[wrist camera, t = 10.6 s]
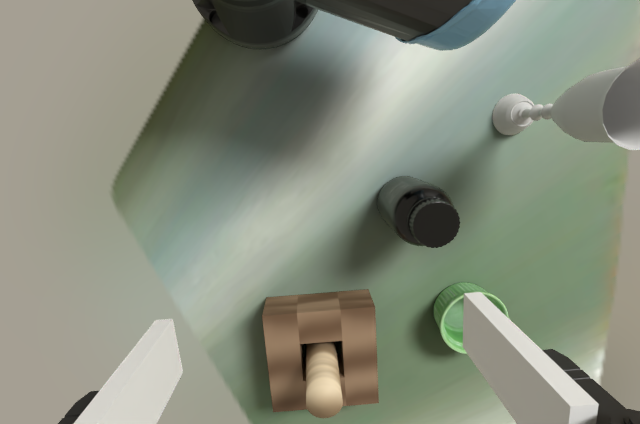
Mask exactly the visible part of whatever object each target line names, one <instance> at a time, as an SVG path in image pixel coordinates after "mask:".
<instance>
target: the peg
mask: <svg viewBox="0 0 640 424" xmlns="http://www.w3.org/2000/svg"><path fill="white" fill-rule="evenodd" d="M342 405H343V399H342V391H341V383H340V375H339V367H338V360H337V352H336V344H335V341H332V342H320V343H308V344H307V351H306V406H307V409H308V411H309V412H310V413H311V414H312V415H314V416H316V417H319V418H329V417H332V416H334V415H336V414H337V413H338V412H339V411H340V410H341V408H342Z"/></svg>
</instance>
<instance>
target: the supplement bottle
mask: <svg viewBox="0 0 640 424" xmlns="http://www.w3.org/2000/svg"><path fill="white" fill-rule="evenodd" d="M377 205H378V210H379V213H380V215H381V217H382V218H383V219H384V221H385V222H386V223H387V224H388V225H389V226H390V227H391V228H392V229H393V230H394V231H395V232H396V234H397V235H398V236H399V237H400V238H402V239H403V240H404V241H406V242H407V243H409V244H412V245H416V246H427V247H431V248H434V247H435V248H437V247H442V246H443V245H446V244H447V243H450V242H451V240H453V239H454V237H455V236H456V234H457V232H458V229H459V227H460V226H459V224H460V221H459V219H460V218H459V216H458V213H457V212H456V209H454V206H453V203H452V201H451V199H450V197H449V196H448V195H447V194H446V193H445V192H444V191H443V190H441V189H440V188H438V187H436V186H433V185H431V184H429V183H426V182H424V181H421V180H419V179H416V178H414V177H410V176H400V177H396V178H394V179H392V180H390V181H389V182H387V183H386V184H385V185H384V186H383V188H382V189H381V191H380V193H379V196H378V202H377Z"/></svg>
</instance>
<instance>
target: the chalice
mask: <svg viewBox="0 0 640 424" xmlns="http://www.w3.org/2000/svg"><path fill="white" fill-rule="evenodd" d="M542 117H543V118H544V119H551V118H552V119H553V121H554V122H555V123H556V124H557V125H558V126H559V127H560V128H561V129H562V130H563V131H564V132H565V133H567V134H569V135H570V136H572V137H574V138H576V139H579V140H581V141H584V142H612V143H616V144H617V145H618V146H621V147H623V148H626V149H629V150H640V58H639V59H637V60H636V61H634V62H633V63H631V64H630V65H628V66H625V67H620V68H615V69H611V70H606V71H601V72H598V73H595V74H591V75H589V76H587V77H586V78H584V79H583V80H581V81H580V82H578V83H577V84H575V85H574V86H572V87H571V88H569V89H568V90H567V91H566V92H565V93H564V94H563V95H562V96H560V97H559V98H558V99H557V100H556V102H555V103H554V104H546V105H545V106H542V105H540V104H537V105H534V104H533V102H532V101H531V100H529V99H528V98H526V97H525V96H523V95H521V94H509V95H506V96H505V97H503V98H501V99H500V100H499V102H498V103H497V104H496V106H495V108H494V110H493V116H492V119H493V124H494V126H495V128H496V129H497V130H498V131H499V132H500V133H502V134H505V135H515V134H518V133H520V132H521V131H523V130H524V129H525V128H527V127H528V126H530V124H531V123H532V122H533V120H534V121H537V120H540V119H541V118H542Z"/></svg>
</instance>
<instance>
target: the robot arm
mask: <svg viewBox="0 0 640 424" xmlns="http://www.w3.org/2000/svg"><path fill="white" fill-rule="evenodd" d="M515 1H516V0H193V2H194V4H195V6H196V8H197V9H198V11H199V12H200V14H201V15H202V16H203V18H204V19H205V20H206V21H207V22H208V23H209V25H210V26H211V27H212V28H213V29H214V30H215V31H216V32H218V33H219V34H220V35H221V36H223V37H224V38H226V39H227V40H229V41H231V42H233V43H235V44H238V45H240V46H244V47H248V48H254V49H266V48H273V47H277V46H280V45H283V44H285V43H287V42H289V41H291V40H293V39H294V38H296V37H297V36H298V35H299V34H301V33H302V32H303V31H304V30H305V29H306V28H307V26H308V25H309V24H310V23H311V21H312V20H313V18H314V16H315V15H316V13H317V11H318V9H319V10H321V11H324V12H327V13H330V14H333V15H335V16H338V17H341V18H344V19H347V20H350V21H352V22H355V23H358V24H361V25H364V26H366V27H369V28H372V29H375V30H378V31H380V32H383V33H386V34H389V35H392V36H395V38H396V39H397V40H399V41H400V42H403V43H409V44H415V43H416V44H419V45H423V46H426V47H430V48H433V49H436V50H453V49H458V48H460V47H463V46H465V45H467V44H469V43H470V42H472V41H474V40H475V39H477V38H478V37H479V36H481V35H482V34H483V33H485V32H486V31H487V30H488V29H489V28H490V27H491V26H492V25H494V24H495V23H496V22H497V21H498V20H499V19H500V18H501V17H502V15H503V14H504V13H505V12H506V11H507V10H508V9H509V8H510V7H511V5H512V4H513V3H514V2H515ZM463 348H464V350H465V351H466V352H467V354H468V355H469V357H470V358H471V359H472V361H473V362H474V364H475V365H476V367H477V368H478V369H479V371H480V372H481V374H482V375H483V376H484V378H485V379H486V381H487V382H488V383H489V385H490V386H491V388H492V389H493V391H494V392H495V393H496V395H497V396H498V398H499V399H500V400H501V402H502V403H503V405H504V406H505V408H506V409H507V410H508V412H509V413H510V415H511V416H512V417H513V419H514V420H515V422H516V423H517V424H640V411H635V410H631V409H626V408H625V407H623V406H622V405H621V404H620V403H619V402H618V401H617V400H616V399H614V398H613V397H612V396H611V395H610V394H609V393H608V392H607V391H605V390H604V389H603V388H602V387H601V386H600V385H599V384H597V383H596V382H595V381H594V380H593V379H590V376H588V375H587V374H586V373H585V372H584V371H583V370H580V368H579V367H578V366H577V365H576V364H575V363H574V362H573V361H571V360H570V359H569V358H568V357H566V356H564V355H562V354H561V353H559V352H557V351H555V350H553V349H548V350H541V349H540V348H539V347H538V346H537V345H536V344H535V343H534V342H533V341H532V340H531V339H530V338H529V337H528V336H526V335H525V334H524V333H523V332H522V331H521V330H520V329H519V328H518V327H517V326H516V325H515V324H514V323H513V322H512V321H511V320H510V319H509V318H508V317H506V316H505V315H504V314H503V313H502V312H501V311H500V310H499V309H498V308H497V307H496V306H495V305H494V304H493V303H492V302H491V301H490V300H489V299H488V298H486V297H485V296H484V295H483V294H482V293H481V292H474V293H464V308H463ZM182 373H183V369H182V364H181V359H180V354H179V349H178V344H177V338H176V334H175V328H174V323H173V319H164V320H155V321H154V323H153V324H152V325H151V327H150V328H149V329H148V330H147V331H146V333H145V334H144V335H143V337H142V338H141V339H140V340H139V342H138V343H137V344H136V345H135V347H134V348H133V349H132V350H131V352H130V353H129V354H128V355H127V357H126V358H125V359H124V361H123V362H122V363H121V365H120V366H119V367H118V368H117V369H116V371H115V372H114V373H113V374H112V376H111V377H110V378H109V379H108V381H107V382H106V383H105V385H104V386H103V387H102V388H101V390H100V391H91V392H89V393H88V394H87V395H85V396H84V397H83V398H81V399H80V400H79V401H78V402H76V403H75V404H74V405H73V407H72V408H71V409H70V410H69V411H68V413H67V414H66V415H65V418H63V419H62V420H61V421H60V422H59V423H58V424H157V422H158V420H159V418H160V416H161V414H162V412H163V410H164V408H165V406H166V404H167V402H168V400H169V398H170V396H171V395H172V392H173V391H174V389H175V387H176V385H177V383H178V381H179V379H180V377H181V375H182Z"/></svg>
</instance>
